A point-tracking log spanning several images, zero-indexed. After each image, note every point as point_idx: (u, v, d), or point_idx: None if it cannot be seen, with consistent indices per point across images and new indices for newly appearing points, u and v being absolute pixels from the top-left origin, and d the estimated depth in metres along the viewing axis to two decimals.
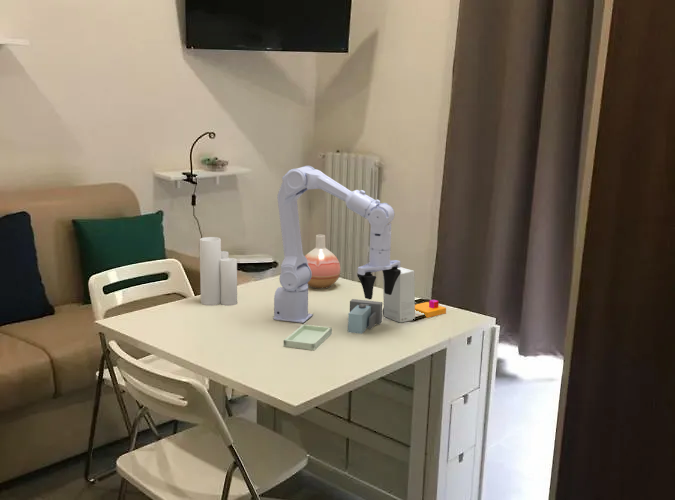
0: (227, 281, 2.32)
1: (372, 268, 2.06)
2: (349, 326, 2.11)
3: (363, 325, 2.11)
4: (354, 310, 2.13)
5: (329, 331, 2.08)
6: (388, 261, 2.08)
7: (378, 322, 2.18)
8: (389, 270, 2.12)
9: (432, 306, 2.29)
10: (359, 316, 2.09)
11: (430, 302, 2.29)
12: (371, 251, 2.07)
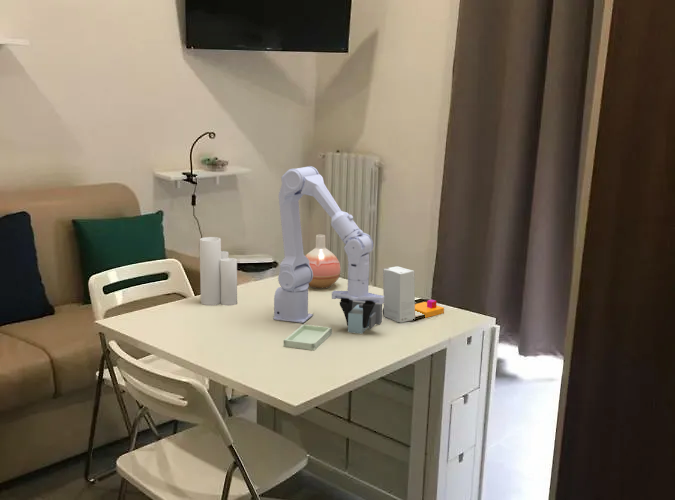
0: (227, 281, 2.32)
1: (341, 294, 2.10)
2: (349, 326, 2.11)
3: None
4: (354, 310, 2.13)
5: (329, 331, 2.08)
6: (357, 292, 2.07)
7: (378, 322, 2.18)
8: None
9: (430, 306, 2.29)
10: (359, 316, 2.09)
11: (428, 302, 2.29)
12: None
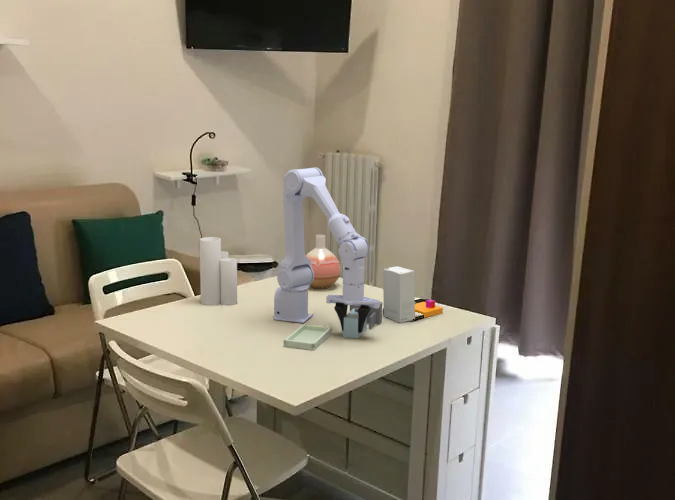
0: (227, 281, 2.32)
1: (336, 299, 2.05)
2: (344, 330, 2.06)
3: None
4: (350, 314, 2.09)
5: (329, 331, 2.08)
6: (352, 296, 2.03)
7: (378, 322, 2.18)
8: None
9: (429, 306, 2.29)
10: (354, 320, 2.05)
11: (427, 302, 2.29)
12: None
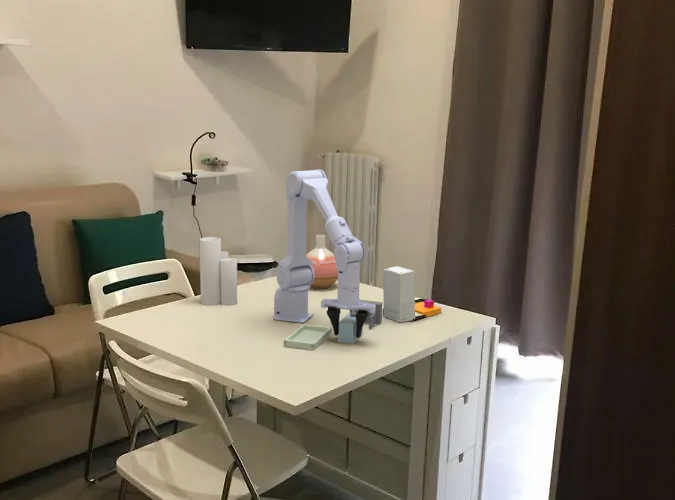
0: (227, 281, 2.32)
1: (330, 303, 2.01)
2: (340, 335, 2.03)
3: (354, 334, 2.03)
4: (345, 319, 2.05)
5: (329, 331, 2.08)
6: (347, 301, 1.99)
7: (378, 322, 2.18)
8: None
9: (427, 306, 2.29)
10: (350, 325, 2.01)
11: (425, 302, 2.29)
12: None
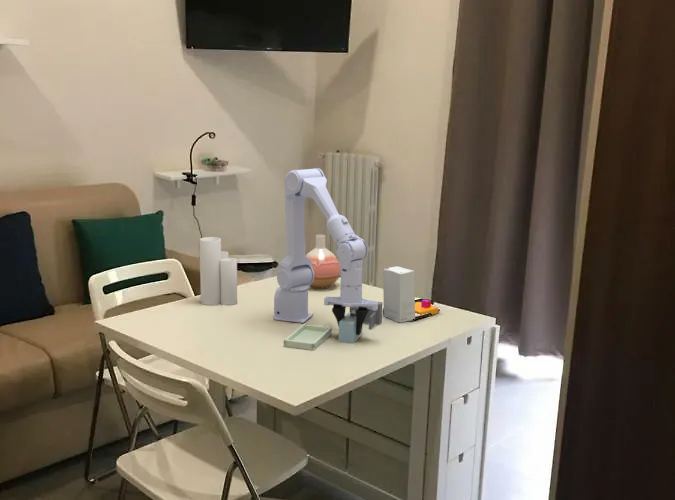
0: (227, 281, 2.32)
1: (333, 301, 2.04)
2: (340, 335, 2.03)
3: (354, 334, 2.03)
4: (345, 318, 2.05)
5: (329, 331, 2.08)
6: (350, 298, 2.01)
7: (378, 322, 2.18)
8: None
9: (424, 306, 2.29)
10: (350, 325, 2.01)
11: (422, 302, 2.29)
12: None
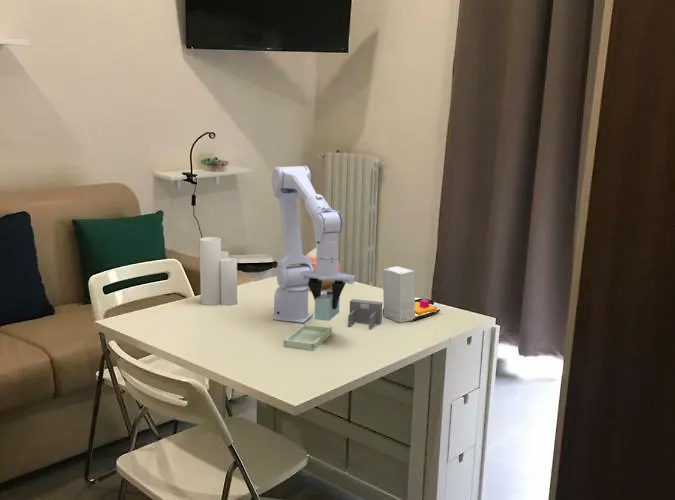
0: (227, 281, 2.32)
1: (309, 274, 2.01)
2: (316, 312, 2.00)
3: (330, 311, 2.00)
4: (321, 296, 2.03)
5: (329, 331, 2.08)
6: (326, 272, 1.98)
7: (378, 322, 2.18)
8: None
9: (423, 306, 2.29)
10: (326, 302, 1.99)
11: (421, 302, 2.29)
12: None
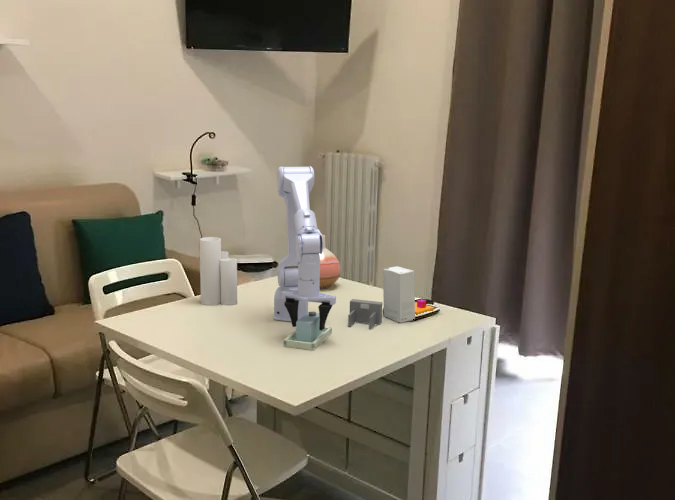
0: (227, 281, 2.32)
1: (291, 295, 2.01)
2: (297, 335, 2.00)
3: (312, 334, 2.01)
4: (303, 318, 2.03)
5: (329, 331, 2.08)
6: (307, 292, 1.98)
7: (378, 322, 2.18)
8: None
9: (420, 306, 2.29)
10: (307, 325, 1.99)
11: (418, 302, 2.29)
12: None
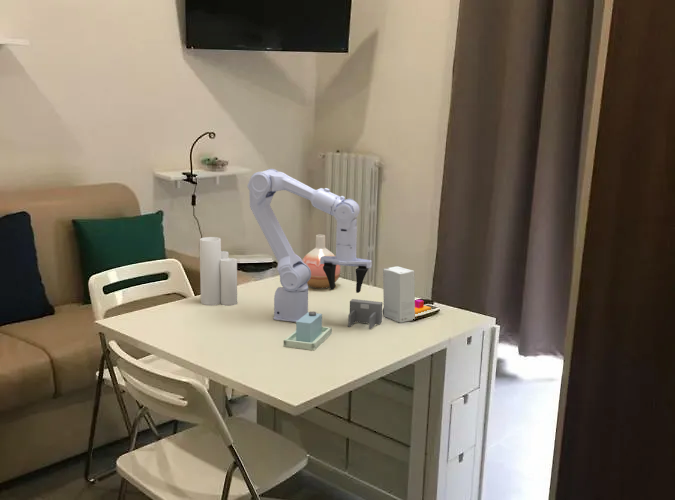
0: (227, 281, 2.32)
1: (329, 259, 2.14)
2: (297, 335, 2.00)
3: (312, 334, 2.01)
4: (303, 318, 2.03)
5: (329, 331, 2.08)
6: (345, 257, 2.11)
7: (378, 322, 2.18)
8: None
9: (417, 306, 2.29)
10: (307, 325, 1.99)
11: (415, 302, 2.29)
12: None
